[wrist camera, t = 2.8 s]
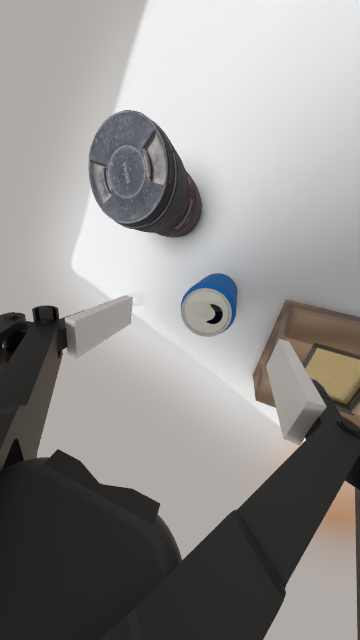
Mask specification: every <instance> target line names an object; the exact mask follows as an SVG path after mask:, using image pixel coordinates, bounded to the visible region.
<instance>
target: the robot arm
mask: <svg viewBox="0 0 360 640" xmlns="http://www.w3.org/2000/svg"><path fill="white" fill-rule="evenodd" d="M132 299H133V297H130V296H126V295H125V296H122V297H120V298H117V299H114V300H112V301H109V302H106V303H104V304H101V305H98V306H95V307H93V308H90V309H87V310H84V311H81V312H78V313H75V314H73V315H70V316H67V317H65V318H62V319H59V313H58V308H57V307H54V306H39V307H35V308H33V309H32V311H33V317H34V322H29V321H26V318H25V315H24V314H22V313H15V312H12V313H7V314H2V315H0V640H263V639H264V637H265V635H266V633H267V631H268V629H269V628H270V626H271V624H272V622H273V620H274V618H275V617H276V615H277V613H278V611H279V609H280V607H281V605H282V603H283V601H284V598H285V594H286V591H285V587H286V584H287V582H288V580H289V578H290V577H291V575H292V573H293V571H294V569H295V568H296V566H297V564H298V562H299V561H300V559H301V557H302V555H303V554H304V552H305V550H306V548H307V546H308V545H309V543H310V541H311V539H312V538H313V536H314V534H315V532H316V530H317V529H318V527H319V525H320V523H321V522H322V520H323V518H324V516H325V514H326V513H327V511H328V509H329V507H330V506H331V504H332V502H333V500H334V499H335V497H336V495H337V493H338V491H339V490H340V488H341V486H342V484H343V482H344V481H347V482H348V483H350V484H351V485H353V486H354V487H355V508H356V509H355V511H356V563H357V565H356V567H357V568H356V569H357V623H358V624H357V625H358V640H360V428H359V427H358V426H357V425H356V424H354V423H353V422H352V421H350V420H348V419H347V418H345V417H342V416H341V414H340V413H339V411H338V409H337V408H336V406H335V405H334V403H333V402H332V400H331V398H330V397H329V395H327V392H326V391H325V389H324V387H323V386H322V385H321V384H320V383H318V382H317V381H316V380H314V379H311V378H310V377H309V375H308V373H307V372H306V370H305V368H304V366H303V365H302V363H301V361H300V359H299V358H298V356H297V354H296V353H295V351H294V349H293V347H292V346H291V344H290V342H289V341H285V340H282V339H279V340H278V342H277V344H276V346H275V348H274V351H273V353H272V355H271V357H270V359H269V361H268V363H267V366H266V368H267V372H268V376H269V380H270V384H271V389H272V393H273V397H274V401H275V405H276V409H277V413H278V417H279V421H280V426H281V430H282V434H283V438H284V439H285V440H288V441H291V442H293V443H296V444H299V445H300V444H301V442H302V441H303V440H304V438H306V441H305V442H304V443H303V444H302V445H301V446H300V447H299V448H298V449H297V450H296V451H295V452H294V453H293V454H292V455H291V456H290V457H289V458H288V459H287V460H286V461H285V462H284V463H283V464H282V465H281V466H280V467H279V468H278V469H277V470H276V471H275V472H274V473H273V474H272V475H271V476H270V477H269V478H268V479H267V480H266V481H265V482H264V483H263V484H262V485H261V486H260V487H259V488H258V490H256V491H255V492H254V493H253V494H252V495H251V496H250V497H249V498H248V500H247V501H245V502H244V503H243V504H242V506H240V507H239V509H237V510H234V511H232V512H231V513H230V514H229V515H228V516H227V517H226V518H225V519H224V520H223V521H222V522H221V523H220V524H219V525H218V526H217V527H216V528H215V529H214V530H213V531H212V532H211V533H210V534H209V535H208V536H207V537H206V538H205V539H204V540H203V541H202V542H201V543H200V544H199V545H198V546H197V547H196V548H195V549H194V550H193V551H191V552H190V554H188V555H187V556H186V558H184V559H183V560H182V558H181V555H180V552H179V549H178V546H177V544H176V541H175V539H174V537H173V535H172V533H171V531H170V529H169V528H168V526H167V525H166V524H165V522H164V521H163V520H162V518H161V517H160V516H159V515H158V510H159V507H160V503H158V502H156V501H154V500H152V499H150V498H149V497H147V496H145V495H143V494H141V493H139V492H137V491H135V490H134V489H130V488H123V487H116V486H109V485H102V484H100V483H99V482H98V481H97V480H96V479H95V478H94V477H93V476H92V474H91V473H90V472H89V471H88V470H87V468H86V467H85V466H84V465H83V464H82V463H81V461H79V460H77V459H75V458H73V457H71V456H70V455H68V454H66V453H64V452H62V451H60V450H56V452H55V453H54V454H53V455H52V456H51V457H50V458H49V457H47V458H46V457H45V458H37V450H38V447H39V443H40V439H41V435H42V431H43V427H44V424H45V420H46V416H47V412H48V408H49V405H50V400H51V397H52V393H53V389H54V386H55V382H56V378H57V374H58V370H59V366H60V363H61V359H62V355H63V353H62V350H63V349H65V348H66V347H67V351H68V355H70V356H73V357H75V358H78V357H79V356H81V355H83V354H84V353H86V352H87V351H89V350H90V349H92V348H93V347H95V346H96V345H98V344H100V343H101V342H103V341H104V340H106V339H107V338H109V337H110V336H112V335H114V334H115V333H116V332H118V331H120V330H121V329H123V328H124V327H126V326H127V325H129V324H130V323H131V312H132ZM2 344H3V345H4V347H3V348H2Z"/></svg>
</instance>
